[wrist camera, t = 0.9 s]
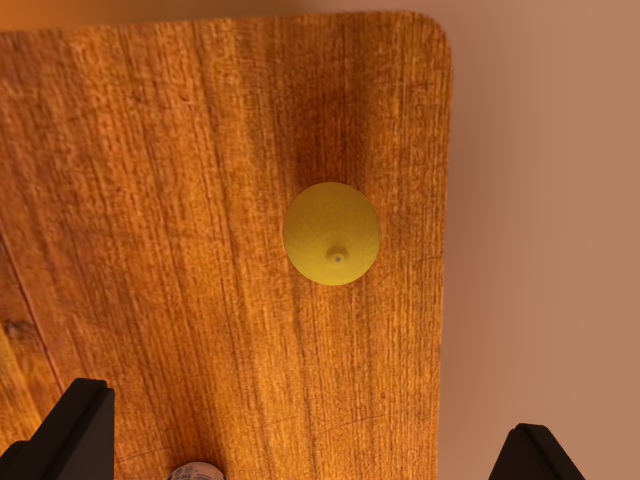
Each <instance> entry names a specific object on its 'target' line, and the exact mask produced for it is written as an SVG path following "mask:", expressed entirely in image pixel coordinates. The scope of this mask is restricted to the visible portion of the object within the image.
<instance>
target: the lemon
mask: <svg viewBox="0 0 640 480" xmlns="http://www.w3.org/2000/svg"><path fill="white" fill-rule="evenodd" d="M282 233H283V241H284V246H285V249H286V252H287V254H288V256H289V258H290V260H291V262H292V263H293V265H294V266H295V267H296V268H297V270H298V271H299V272H300V273H301V274H303V275H304V276H305V277H307V278H308V279H310V280H312V281H315V282H317V283H319V284H324V285H330V286H331V285H342V284H346V283H349V282H352V281H354V280H355V279H357V278H359V277H361V276H362V275H363V274H364V273H365V272H366V271H367V270H368V269H369V268H370V266H371V265H372V263H373V262H374V260H375V258H376V256H377V253H378V250H379V247H380V236H381V230H380V225H379V220H378V216H377V214H376V212H375V210H374V208H373V206H372V204H371V203H370V202H369V201H368V199H367V198H366V197H365V196H364V195H363V194H362V193H361V192H359V191H358V190H356V189H354V188H353V187H351V186H348V185H345V184H342V183H338V182H324V183H319V184H315V185H313V186H311V187H309V188H306V189H305V190H304V191H302V192H301V193H300V194H299V195H297V196H296V198H295V199H294V200H293V202H292V203H291V204H290V206H289V208H288V210H287V213H286V215H285V218H284V223H283V231H282Z"/></svg>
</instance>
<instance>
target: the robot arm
mask: <svg viewBox="0 0 640 480" xmlns="http://www.w3.org/2000/svg"><path fill="white" fill-rule="evenodd" d="M114 401H115V393H114V389H113V388H107V383H106V381H104V380H96V379H86V378H77V379H75V380H74V381H73V382H72V383H71V385H70V386H69V388H68V389H67V390H66V392H65V393H64V394H63V396H62V397H61V398H60V400H59V401H58V402H57V404H56V405H55V406H54V408H53V409H52V410H51V412H50V413H49V415H48V416H47V417H46V419H45V420H44V421H43V423H42V424H41V425H40V427H39V428H38V429H37V431H36V432H35V433H34V435H33V436H32V438H31V439H30V440H29V441H23V440H21V441H16V442H15V443H13V444H12V445H11V446H10V447H9V448H8V449H7V450H6V451H5V452H4V453H3V455H2V456H1V457H0V480H113V479H114ZM488 480H585V478H584V477H583V476H582V474H581V473H580V472H579V470H578V469H577V467H576V466H575V465H574V463H573V462H572V461H571V459H570V458H569V456H568V455H567V454H566V452H565V451H564V450H563V448H562V447H561V446H560V444H559V443H558V441H557V440H556V439H555V437H554V436H553V434H552V433H551V432H550V431H549V429H548V428H547V427H545V426H543V425H534V424H524V423H519V424H518V425H517V426H516V427H515V429H512V430H511V431H510V432H509V434H508V436H507V438H506V441H505V443H504V445H503V447H502V450H501V452H500V454H499V457H498V459H497V461H496V463H495V465H494V468H493V470H492V472H491V475H490V477H489V479H488Z"/></svg>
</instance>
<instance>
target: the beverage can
mask: <svg viewBox="0 0 640 480" xmlns="http://www.w3.org/2000/svg"><path fill="white" fill-rule="evenodd" d="M168 480H226V478H225V476H224V475H223V474H222V473H221V472H220V471H219V470H218V469H217V468H216V467H215V466H213V465H211V464H209V463H206V462H191V463H188V464H186V465H184V466H181V467H179V468H177V469H176V470H175V471H173V472H172V473H171V475H170V476H169V478H168Z"/></svg>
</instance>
